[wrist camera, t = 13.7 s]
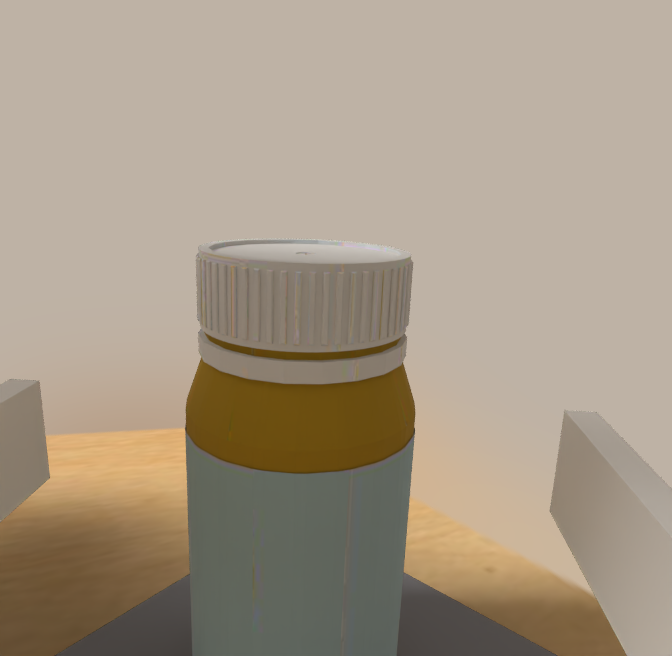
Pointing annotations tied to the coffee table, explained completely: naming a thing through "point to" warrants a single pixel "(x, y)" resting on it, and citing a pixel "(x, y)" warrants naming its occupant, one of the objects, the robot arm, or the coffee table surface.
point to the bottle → (299, 448)
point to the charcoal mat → (413, 638)
